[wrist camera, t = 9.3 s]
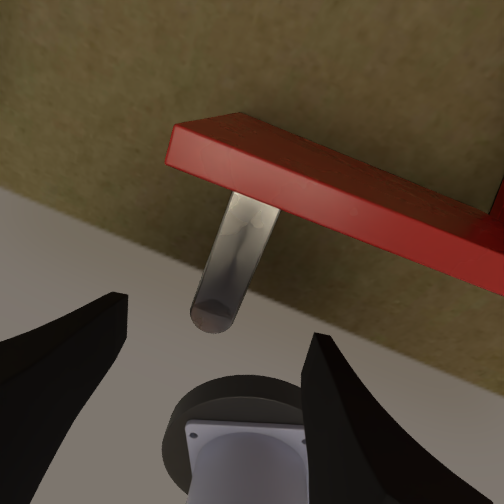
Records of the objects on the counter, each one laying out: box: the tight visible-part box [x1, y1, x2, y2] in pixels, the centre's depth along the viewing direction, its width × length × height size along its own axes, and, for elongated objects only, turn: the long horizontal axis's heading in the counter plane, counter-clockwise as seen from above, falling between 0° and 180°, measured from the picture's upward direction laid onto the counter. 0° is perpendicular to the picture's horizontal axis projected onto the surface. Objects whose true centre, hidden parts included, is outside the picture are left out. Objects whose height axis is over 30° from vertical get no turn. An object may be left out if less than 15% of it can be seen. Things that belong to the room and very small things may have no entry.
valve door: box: [165, 112, 504, 333], centre depth 12 cm, size 6×13×10 cm, turn 70°
